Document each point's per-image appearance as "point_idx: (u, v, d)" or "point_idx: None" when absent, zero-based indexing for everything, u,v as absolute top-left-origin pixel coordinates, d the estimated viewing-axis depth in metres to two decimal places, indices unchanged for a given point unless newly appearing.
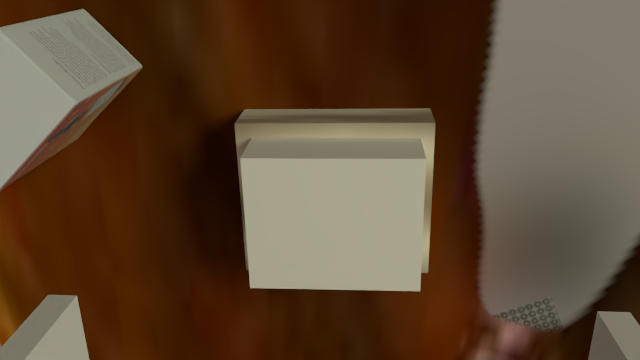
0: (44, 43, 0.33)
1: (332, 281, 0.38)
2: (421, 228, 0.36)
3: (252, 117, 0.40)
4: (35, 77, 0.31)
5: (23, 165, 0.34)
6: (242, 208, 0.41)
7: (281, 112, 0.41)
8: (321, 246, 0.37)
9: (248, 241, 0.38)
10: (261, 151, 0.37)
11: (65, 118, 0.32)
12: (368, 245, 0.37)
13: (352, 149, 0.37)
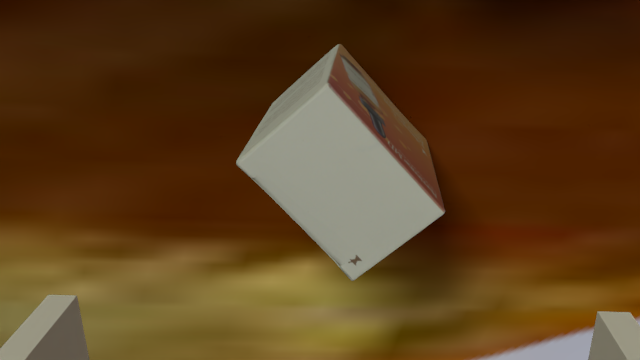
0: (268, 123, 0.28)
1: None
2: None
3: None
4: (292, 129, 0.25)
5: (411, 173, 0.26)
6: None
7: None
8: None
9: None
10: None
11: (348, 104, 0.25)
12: None
13: None
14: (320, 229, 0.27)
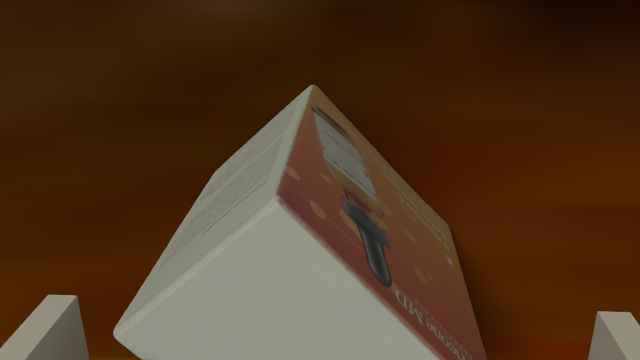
0: (182, 245, 0.15)
1: None
2: None
3: None
4: (212, 281, 0.13)
5: (441, 352, 0.14)
6: None
7: None
8: None
9: None
10: None
11: (319, 233, 0.13)
12: None
13: None
14: None
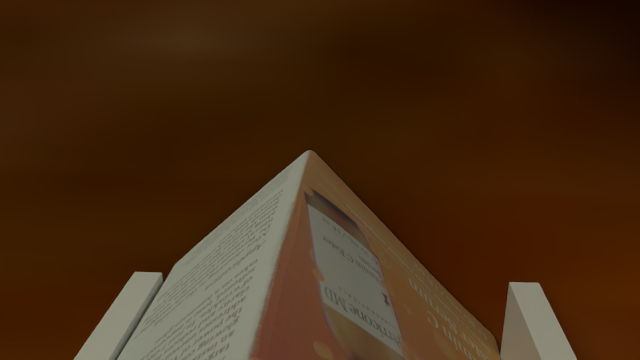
0: None
1: None
2: None
3: None
4: None
5: None
6: None
7: None
8: None
9: None
10: None
11: None
12: None
13: None
14: None
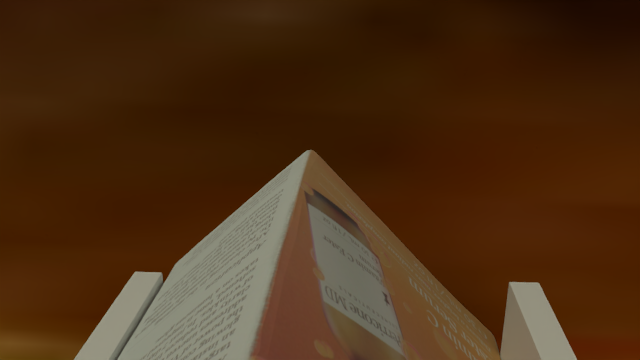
0: None
1: None
2: None
3: None
4: None
5: None
6: None
7: None
8: None
9: None
10: None
11: None
12: None
13: None
14: None
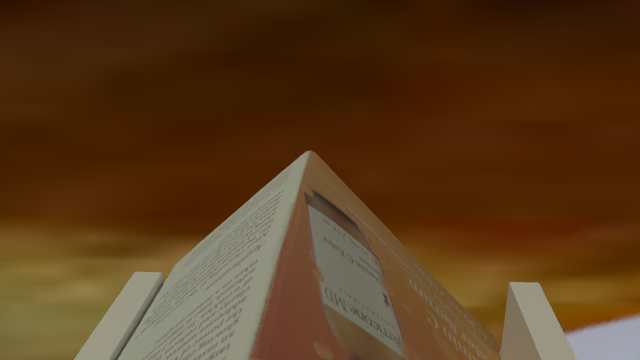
0: None
1: None
2: None
3: None
4: None
5: None
6: None
7: None
8: None
9: None
10: None
11: None
12: None
13: None
14: None
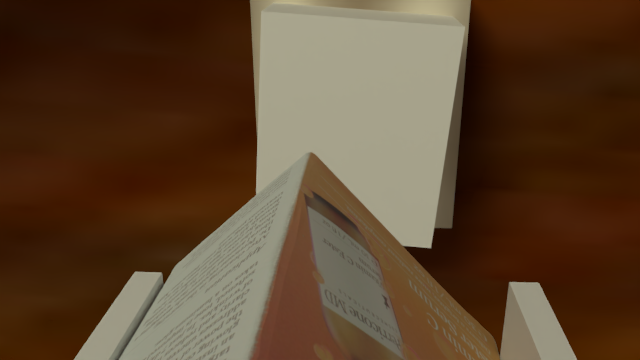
0: None
1: (433, 146, 0.28)
2: (362, 21, 0.26)
3: None
4: None
5: None
6: None
7: None
8: (378, 155, 0.29)
9: None
10: None
11: None
12: (383, 94, 0.27)
13: None
14: None
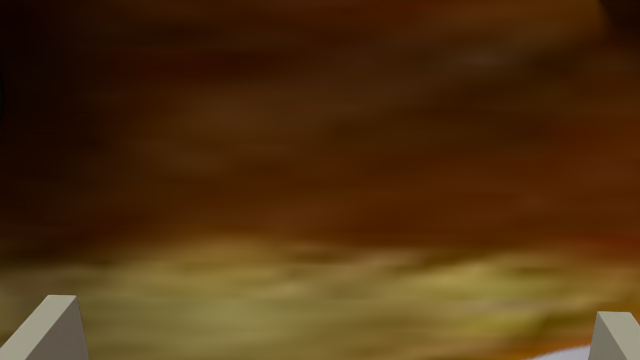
0: None
1: None
2: None
3: None
4: None
5: None
6: None
7: None
8: None
9: None
10: None
11: None
12: None
13: None
14: None
